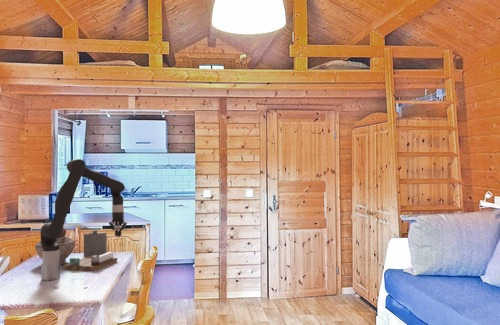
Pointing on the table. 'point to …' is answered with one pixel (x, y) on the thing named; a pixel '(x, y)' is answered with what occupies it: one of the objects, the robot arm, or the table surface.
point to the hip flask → (95, 243)
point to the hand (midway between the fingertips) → (118, 236)
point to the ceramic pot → (65, 247)
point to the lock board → (87, 264)
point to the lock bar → (101, 258)
